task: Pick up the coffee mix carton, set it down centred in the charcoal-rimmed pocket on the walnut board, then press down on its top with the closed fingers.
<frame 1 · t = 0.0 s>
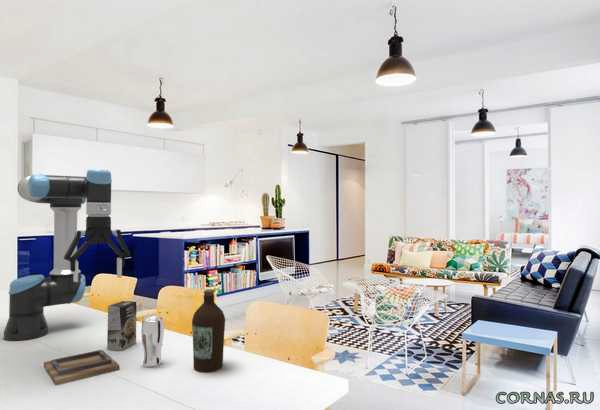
hand: (98, 279, 140), 28 cm above the table, tool pointing down, fingers open, 13 cm apart
olive oil: (208, 367, 138), on the table
coffee box: (122, 347, 156), on the table
beer glass: (152, 364, 140), on the table
pocket board: (81, 368, 135), on the table
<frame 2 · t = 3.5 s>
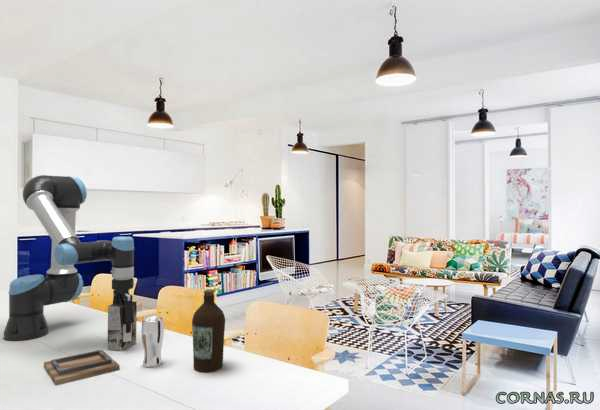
hand: (122, 337, 156), 3 cm above the table, tool pointing down, fingers closed on coffee box, 10 cm apart
coffee box: (122, 346, 156), on the table, touching gripper
everything else where it was.
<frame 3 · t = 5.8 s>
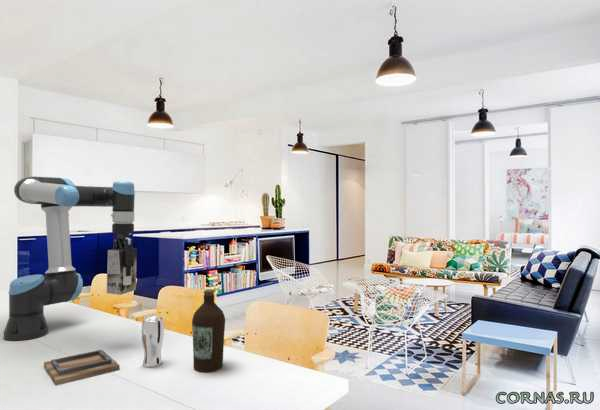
hand: (122, 282, 156), 24 cm above the table, tool pointing down, fingers closed on coffee box, 10 cm apart
coffee box: (121, 292, 156), point 20 cm above the table, touching gripper
everything else where it was.
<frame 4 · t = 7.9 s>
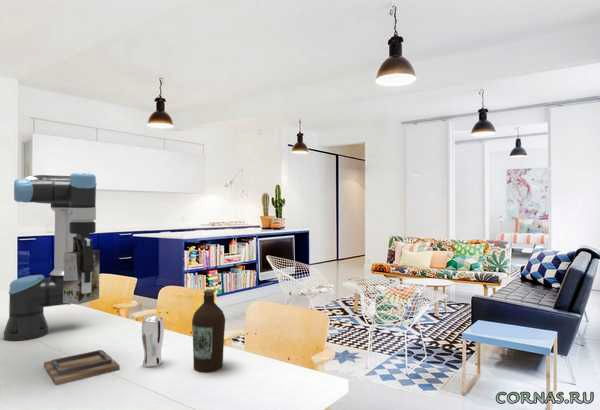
hand: (82, 290, 135), 25 cm above the table, tool pointing down, fingers closed on coffee box, 10 cm apart
coffee box: (81, 301, 135), point 22 cm above the table, touching gripper
everything else where it was.
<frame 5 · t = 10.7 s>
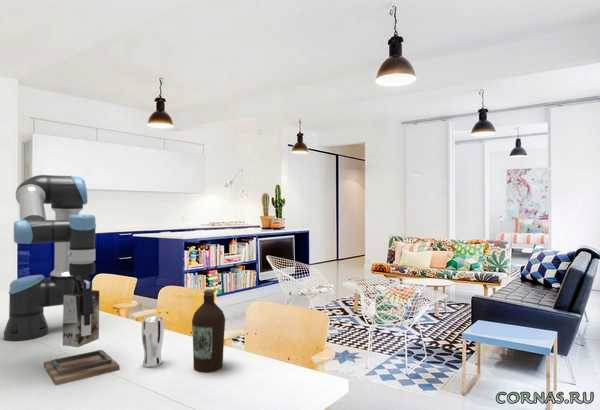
hand: (81, 331, 135), 12 cm above the table, tool pointing down, fingers closed on coffee box, 9 cm apart
coffee box: (81, 342, 135), point 8 cm above the table, touching gripper
everything else where it was.
when the fingers open (6 cm above the table, at t = 12.9 s): coffee box stays where it is, resting on pocket board.
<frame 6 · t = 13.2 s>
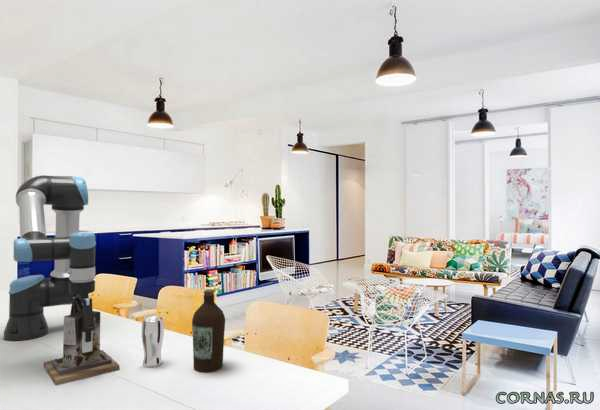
hand: (81, 346, 135), 7 cm above the table, tool pointing down, fingers open, 13 cm apart
coffee box: (81, 363, 136), point 1 cm above the table, touching pocket board
everything else where it was.
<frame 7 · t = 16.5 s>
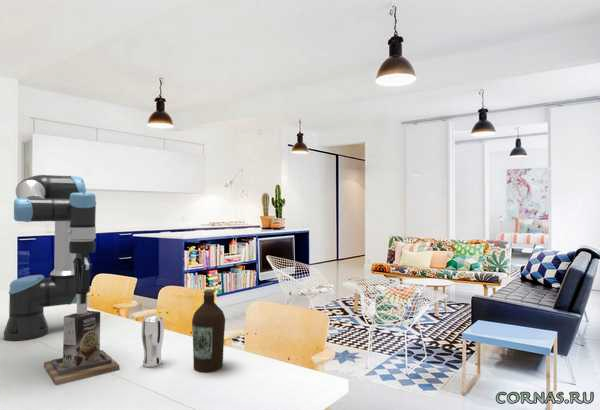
hand: (81, 313, 135), 18 cm above the table, tool pointing down, fingers closed
coffee box: (81, 364, 136), point 1 cm above the table, touching gripper, pocket board
everything else where it was.
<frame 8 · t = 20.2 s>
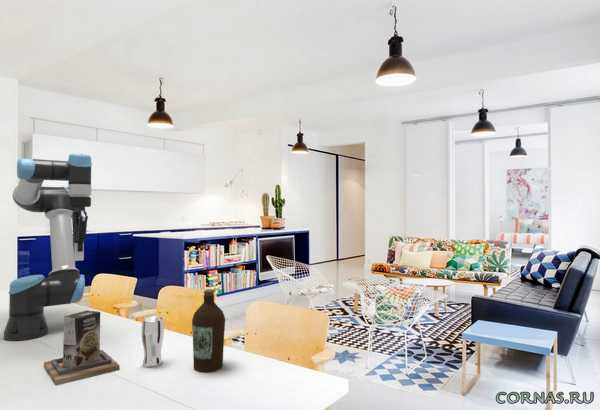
hand: (79, 260, 154), 32 cm above the table, tool pointing down, fingers closed
coffee box: (81, 364, 136), point 1 cm above the table, touching pocket board
everything else where it was.
at the end: coffee box 0.2 cm off-centre on the pocket board, point 1.3 cm above the pocket board's base; coffee box tilted 0°; the gripper is holding nothing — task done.
